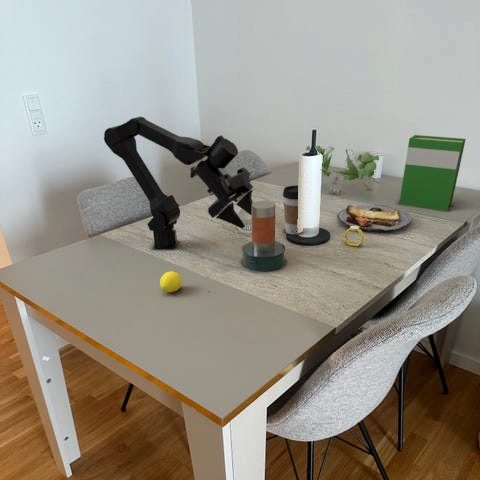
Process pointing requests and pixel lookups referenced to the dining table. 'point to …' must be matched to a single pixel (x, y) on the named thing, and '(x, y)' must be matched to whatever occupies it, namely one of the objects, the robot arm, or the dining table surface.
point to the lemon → (171, 281)
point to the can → (263, 226)
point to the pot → (263, 258)
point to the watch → (354, 228)
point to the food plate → (374, 217)
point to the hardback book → (431, 171)
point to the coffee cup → (291, 209)
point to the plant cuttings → (349, 166)
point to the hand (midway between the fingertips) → (250, 222)
